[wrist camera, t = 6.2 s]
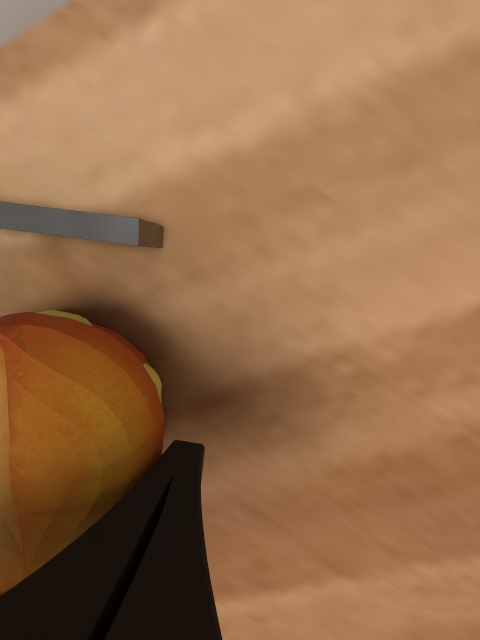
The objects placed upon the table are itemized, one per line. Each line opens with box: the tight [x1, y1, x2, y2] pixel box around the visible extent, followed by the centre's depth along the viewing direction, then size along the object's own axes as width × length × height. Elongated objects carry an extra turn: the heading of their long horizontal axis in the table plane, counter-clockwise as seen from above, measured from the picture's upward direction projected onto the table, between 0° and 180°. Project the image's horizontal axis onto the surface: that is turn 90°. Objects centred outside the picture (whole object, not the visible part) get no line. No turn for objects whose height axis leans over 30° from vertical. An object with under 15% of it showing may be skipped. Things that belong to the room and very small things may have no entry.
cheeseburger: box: [0, 310, 165, 596], centre depth 11 cm, size 10×11×10 cm
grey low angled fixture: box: [0, 202, 163, 248], centre depth 13 cm, size 10×18×2 cm, turn 173°
